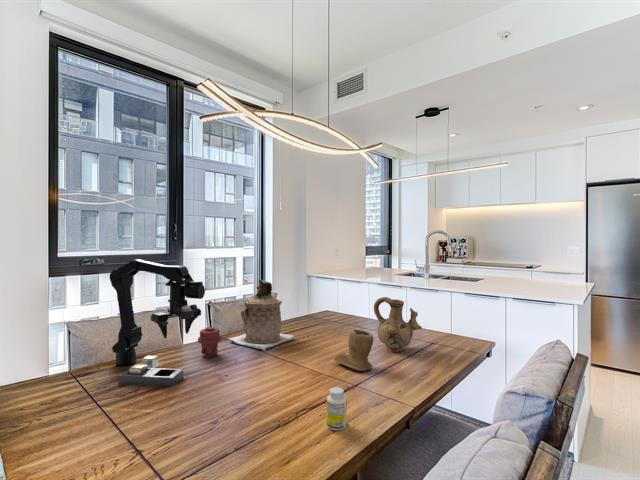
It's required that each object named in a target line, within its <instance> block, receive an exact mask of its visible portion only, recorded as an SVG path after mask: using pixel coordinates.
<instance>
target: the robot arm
mask: <svg viewBox="0 0 640 480" xmlns="http://www.w3.org/2000/svg"><path fill="white" fill-rule="evenodd" d="M140 271H142V272H146V273H150V274H153V275H154V274H156V275H159V276H162V277H164V278H165V279H167V280H168V282H166V283H165V284H164V285H165V287H170V289H169V299H168V300H167V303H169V309H167V313H166V312H162V311H159V312H154V313H152V314H151V316H150V321H151V322H154V324H156V325H158V328H159V329H160V332H161V334H162V336H163V338H164V339H167V337H168V325H169V321H168V320H169V319H172V318H177V317H179V319H181V320H184V329H185V330H184V331H185V334H189V331H190V329H191V327H192V324H193V323H194V321H195V320H196V319H197V318H199V317H200V316H202V310H201V309H200V308H199V307H198V306H197V304H196V303H195V304H191V305H188V299H198V300H201V299H203V298H204V297H205V293H206V289H205V286H204V283H203V281H194V279H193V277H192V276H191V274H190V273H189V269H188V267H187V266H185V265H166V264H161V263H156V262H152V261H148V260H143V259H140V258H139V259H137V258H136V259H132V260H130V261H129V262H127V263H126V264H124V265H122V266H120V267H119V268H116V269H114V270H112V271H111V272H110V273H109V281H110V283H111V284H110V285H111V286H112V288H113V289H114V290H115V292H116V296H117V304H118V311H119V319H120V328H119V332H118V333H117V335H118V336H117V340H118V341H117V342H115V343H114V345H113V346H112V347H111V349H112V352H113V354H114V353H115V364H113V367H126V368H128V367H130V366H131V365H134V364H135V363H136V362H138V360H137V352H136V348H137V347H138V345H139V343H140V342H141V340H142V337H143V332H142V325H141V326H140V325H139V326H138V325H137V324H136V321H135V313H134V307H133V301H132V300H133V298H132V294H131V293H132V292H131V288H132V286H133V283H134V276H136V275H137V274H138V273H139V272H140ZM186 298H187V299H186Z"/></svg>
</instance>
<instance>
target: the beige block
mask: <svg viewBox="0 0 640 480" xmlns="http://www.w3.org/2000/svg"><path fill="white" fill-rule="evenodd" d="M129 369H130V375H143V374H144V373H146V372H147V365H142V364H133V366H131V367H129Z"/></svg>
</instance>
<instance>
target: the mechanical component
mask: <svg viewBox="0 0 640 480" xmlns="http://www.w3.org/2000/svg"><path fill="white" fill-rule="evenodd" d="M221 341H222V336H221V334H220V329H219V328H216V327H214V326H207V327H205V328H203V329H201V330H200V331H199V337H197V343H199V344H201V349H200V350H201V352H200V353H201V354H202V355H204V358H206V359H208V358H210V357H213V356H217V355H218V349H219V348H218V347H219V342H221Z"/></svg>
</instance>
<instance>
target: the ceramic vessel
mask: <svg viewBox="0 0 640 480" xmlns="http://www.w3.org/2000/svg"><path fill="white" fill-rule="evenodd" d="M383 303H386V304H388V305H389V306H390V311H389V315H388V318H384V317H383V316H382V315H381V312H380V309H379V308H380V305H382V304H383ZM404 304H405V301H403V300H400V299H391V298H390V297H387V296H383V297H379V298H378V299H377V300H376V301H375V302H374V304H373V312H374V315H375V316H376V318H377V320H378V321H379V324H378V327H377V335H378V339H379V341H380V342H381V343H382V344H384V345H385V346H386V347H385V349H386V348H387V349H388V350H391V351H401V352H403V351H404V350H405V347H407V346H409V345H410V343H411V342H412V340H413V339H412V338H413V334H414V331H416V330H417V331H418V330H421V329H423V328H422V326H421V325H420V324H419V323H418V321H417V317H418V316H419V315H418V312H417V311H414V309H413V308H412V307H410V309H409V311H410V319H409V320H408V322H406V321H405V320H404V318H403V309H404V306H405V305H404ZM387 349H386V350H387ZM388 350H387V351H388ZM402 350H403V351H402Z"/></svg>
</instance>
